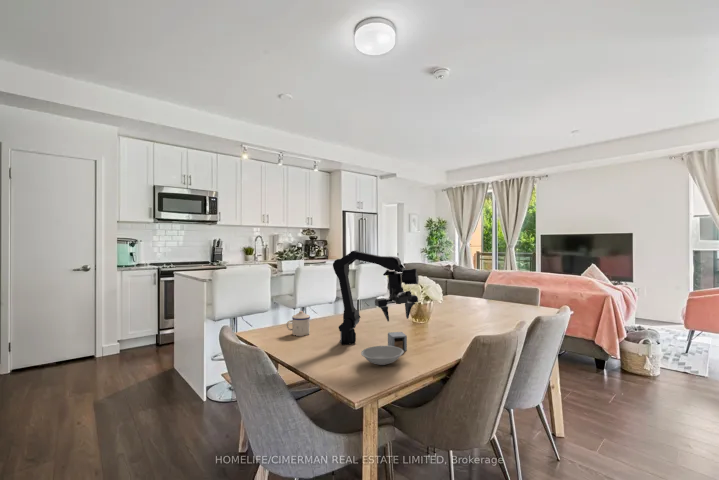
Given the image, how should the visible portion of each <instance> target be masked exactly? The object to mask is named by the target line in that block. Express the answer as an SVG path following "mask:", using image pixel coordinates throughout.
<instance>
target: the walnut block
mask: <svg viewBox="0 0 719 480" xmlns="http://www.w3.org/2000/svg"><path fill="white" fill-rule="evenodd" d="M394 346H395V347H399V348H401V349H403V341H402V340H401V339H394Z"/></svg>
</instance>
